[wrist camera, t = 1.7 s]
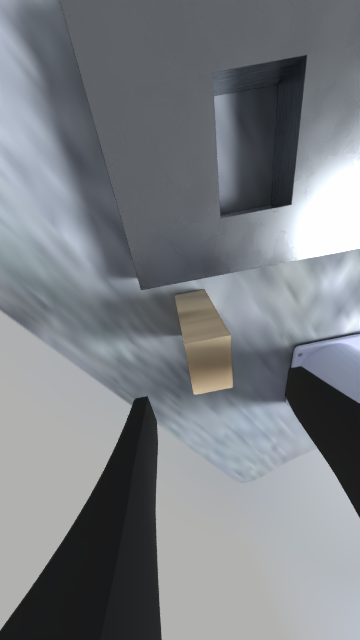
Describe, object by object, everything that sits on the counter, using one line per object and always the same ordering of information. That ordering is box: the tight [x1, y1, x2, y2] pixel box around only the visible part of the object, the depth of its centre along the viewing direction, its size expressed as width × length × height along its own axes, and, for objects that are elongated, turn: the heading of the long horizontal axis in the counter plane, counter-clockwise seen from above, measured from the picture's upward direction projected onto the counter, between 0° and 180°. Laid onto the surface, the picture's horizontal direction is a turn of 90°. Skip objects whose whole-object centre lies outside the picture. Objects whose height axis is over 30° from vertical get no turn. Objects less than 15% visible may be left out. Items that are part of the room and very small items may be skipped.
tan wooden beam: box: [174, 289, 233, 395], centre depth 15 cm, size 4×3×7 cm, turn 9°
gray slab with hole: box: [60, 0, 360, 290], centre depth 12 cm, size 13×16×2 cm
